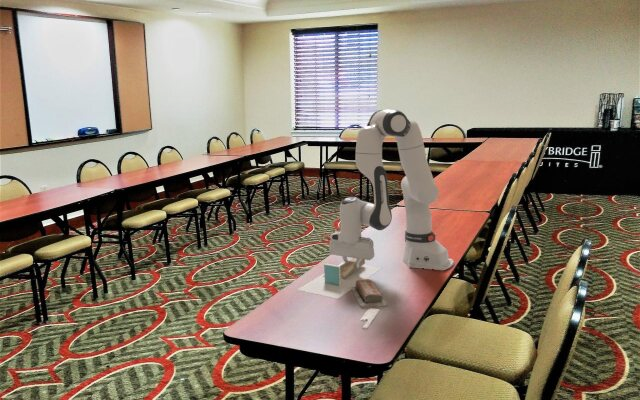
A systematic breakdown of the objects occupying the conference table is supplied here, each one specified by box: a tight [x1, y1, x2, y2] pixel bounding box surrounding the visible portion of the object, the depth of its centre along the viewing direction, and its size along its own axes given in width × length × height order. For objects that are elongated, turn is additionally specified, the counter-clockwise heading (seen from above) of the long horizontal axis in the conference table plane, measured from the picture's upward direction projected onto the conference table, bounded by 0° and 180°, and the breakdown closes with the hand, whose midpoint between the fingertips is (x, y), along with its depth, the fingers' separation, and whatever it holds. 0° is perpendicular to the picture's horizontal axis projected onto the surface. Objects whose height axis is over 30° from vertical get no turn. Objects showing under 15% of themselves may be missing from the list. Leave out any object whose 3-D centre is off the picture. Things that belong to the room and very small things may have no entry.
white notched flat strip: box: [359, 307, 381, 330], centre depth 181 cm, size 5×15×1 cm, turn 157°
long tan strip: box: [340, 258, 366, 277], centre depth 223 cm, size 3×18×4 cm, turn 149°
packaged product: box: [351, 278, 388, 309], centre depth 198 cm, size 18×5×10 cm
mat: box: [296, 261, 382, 300], centre depth 218 cm, size 19×38×1 cm, turn 148°
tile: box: [323, 262, 341, 286], centre depth 211 cm, size 7×1×8 cm, turn 58°
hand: (352, 266), depth 224 cm, fingers closed on long tan strip, 3 cm apart
